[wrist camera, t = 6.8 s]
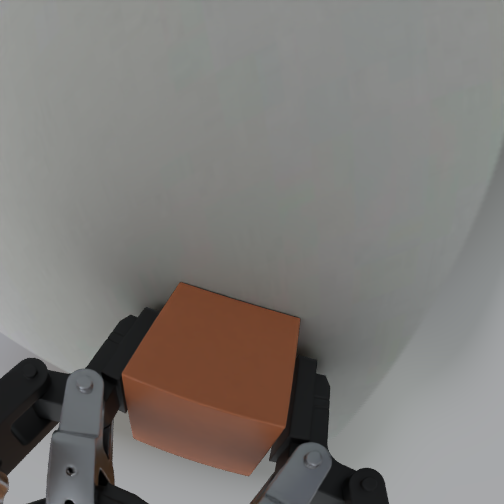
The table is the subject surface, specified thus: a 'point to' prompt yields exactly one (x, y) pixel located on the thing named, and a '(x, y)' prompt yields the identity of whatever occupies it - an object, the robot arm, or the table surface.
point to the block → (212, 379)
